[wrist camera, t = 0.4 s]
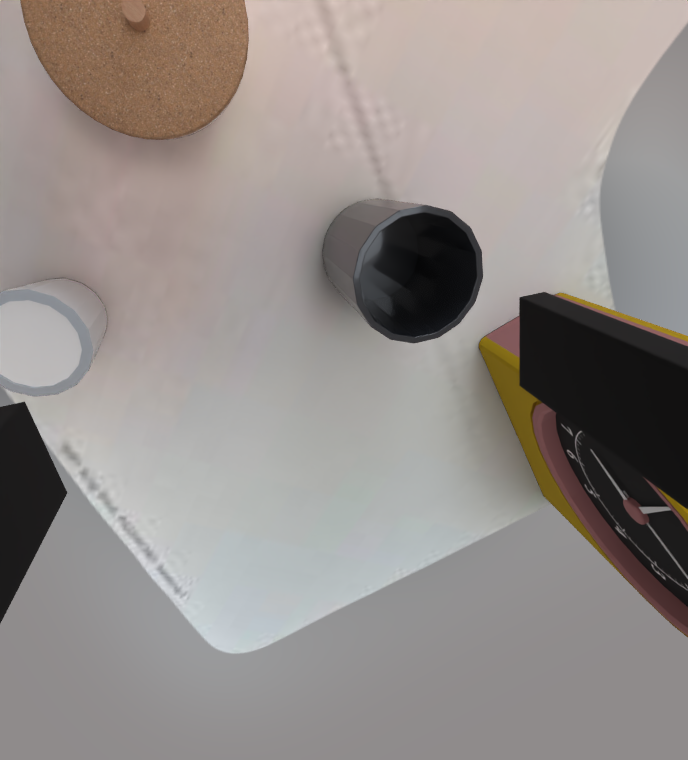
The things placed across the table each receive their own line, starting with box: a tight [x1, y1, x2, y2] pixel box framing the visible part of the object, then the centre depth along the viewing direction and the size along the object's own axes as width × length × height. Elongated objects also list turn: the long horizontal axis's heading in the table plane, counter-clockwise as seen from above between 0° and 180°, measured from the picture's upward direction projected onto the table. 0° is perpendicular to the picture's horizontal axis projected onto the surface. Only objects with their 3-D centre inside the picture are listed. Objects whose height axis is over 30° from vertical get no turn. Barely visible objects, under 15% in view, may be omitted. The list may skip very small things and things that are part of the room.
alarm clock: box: [479, 293, 688, 637], centre depth 36 cm, size 21×9×26 cm, turn 29°
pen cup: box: [323, 199, 483, 343], centre depth 34 cm, size 8×8×11 cm
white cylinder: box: [0, 278, 108, 396], centre depth 33 cm, size 7×7×7 cm
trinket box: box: [20, 0, 249, 140], centre depth 27 cm, size 11×11×9 cm
